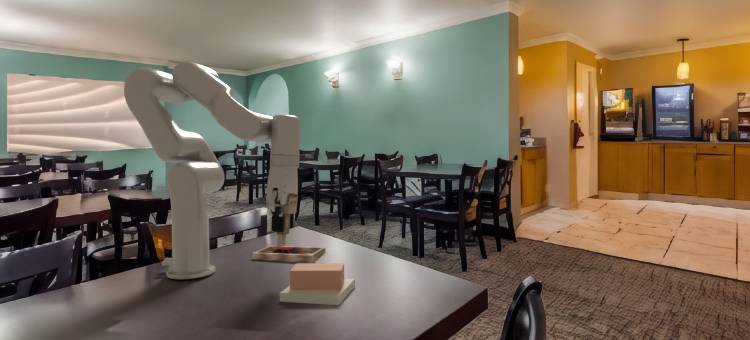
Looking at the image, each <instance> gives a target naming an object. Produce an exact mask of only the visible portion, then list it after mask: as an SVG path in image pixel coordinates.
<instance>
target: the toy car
mask: <svg viewBox="0 0 750 340" xmlns="http://www.w3.org/2000/svg"><path fill="white" fill-rule="evenodd" d="M267 253H282V254H307V255H310V253H309V254H308V253H305V252H302V251H298V250H297V249H295V248H293V247H280V248H277V249H276V250H270V251H268V252H267Z"/></svg>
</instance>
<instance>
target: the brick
mask: <svg viewBox="0 0 750 340" xmlns="http://www.w3.org/2000/svg"><path fill="white" fill-rule="evenodd" d="M344 278H345V263H344V262H343V263H342V262H340V263H339V262H336V263H334V262H333V263H332V262H331V263H329V262H327V263H326V262H325V263H323V262H322V263H320V262H319V263H316V262H315V263H314V262H313V263H304V262H295V264H294V265H293V267H291V269H290V270H289V286H290V290H341V289H342V286H343V284H344Z"/></svg>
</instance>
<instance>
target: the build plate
mask: <svg viewBox="0 0 750 340" xmlns="http://www.w3.org/2000/svg"><path fill="white" fill-rule="evenodd" d="M355 288H356V279H355V278H347V277H346V278H345V277H344V284H343V286H342V289H341V290H290V285H288V286H287V287H286V288H284V289H282V291H280V292H279V302H282V303H283V302H284V303H297V304H310V305H311V304H312V305H313V304H314V305H324V306H325V305H328V306H340V305H341V303H342V302H343V301H344V299H346V298H347V297H348V295H349V294H350V293H351V292H353V290H354V289H355Z"/></svg>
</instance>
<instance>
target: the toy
mask: <svg viewBox="0 0 750 340" xmlns="http://www.w3.org/2000/svg"><path fill="white" fill-rule="evenodd" d="M298 198H299V195H297V194H293V193H292V195H291V194H290V193H289V196H288V200H287V204H286V205H284V210H283V216H282V217H284V231H283V232H275V233H276V235H277V245H276V246H277V247H282V246H286V244H287V235H289V234H290V229H291V228H290V215H291V214H293V213H294V214H297V208H298ZM276 204H281V203H280V202H276ZM278 209H279V211H280V207H278Z"/></svg>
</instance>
